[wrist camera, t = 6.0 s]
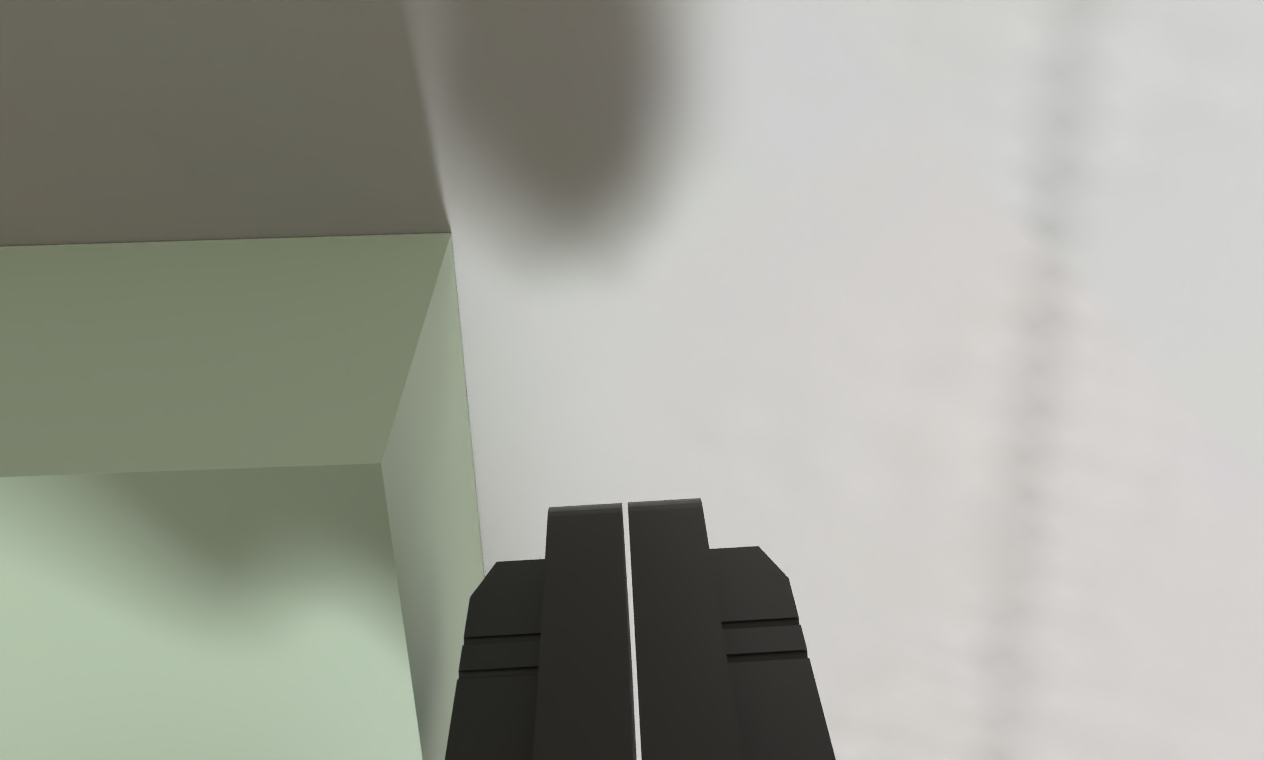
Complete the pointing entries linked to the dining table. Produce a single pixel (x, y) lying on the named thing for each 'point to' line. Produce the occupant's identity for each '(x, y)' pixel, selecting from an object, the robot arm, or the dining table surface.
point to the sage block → (233, 499)
